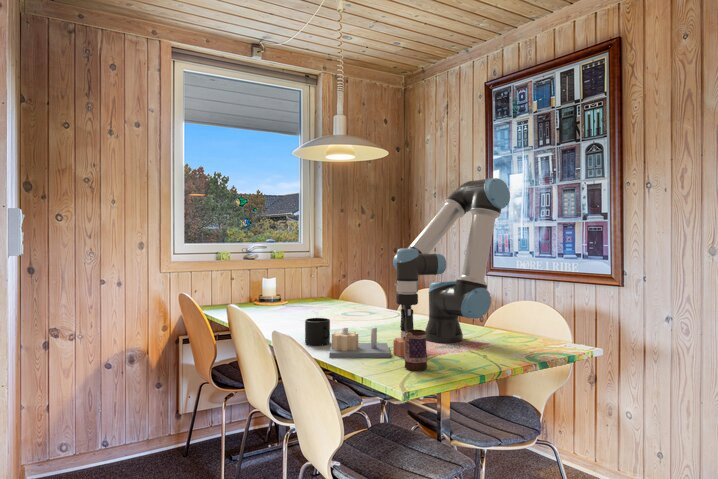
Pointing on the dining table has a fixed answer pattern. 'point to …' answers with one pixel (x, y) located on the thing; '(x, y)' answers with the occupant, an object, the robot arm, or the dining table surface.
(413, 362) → the mug
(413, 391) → the dining table surface
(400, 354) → the gear
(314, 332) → the mug
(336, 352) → the gear board
